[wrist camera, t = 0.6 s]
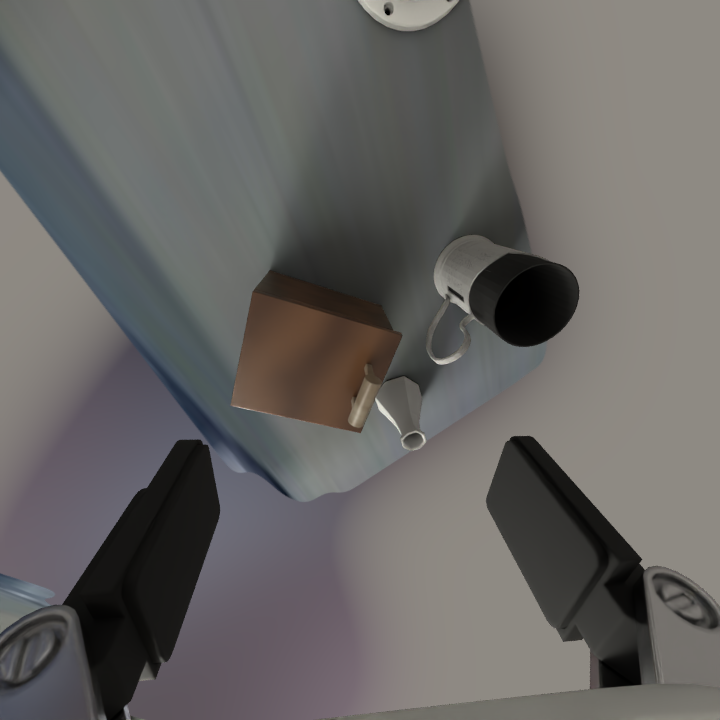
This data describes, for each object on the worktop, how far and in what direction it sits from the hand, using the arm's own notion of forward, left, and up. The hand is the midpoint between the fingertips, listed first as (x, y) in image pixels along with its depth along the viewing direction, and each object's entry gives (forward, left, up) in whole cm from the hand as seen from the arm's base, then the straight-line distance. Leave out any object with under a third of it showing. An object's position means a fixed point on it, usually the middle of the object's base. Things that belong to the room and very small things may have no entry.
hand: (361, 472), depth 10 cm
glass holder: (-3, +15, -32) cm, 36 cm away
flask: (+15, +15, -32) cm, 39 cm away
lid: (+9, 0, -23) cm, 25 cm away
